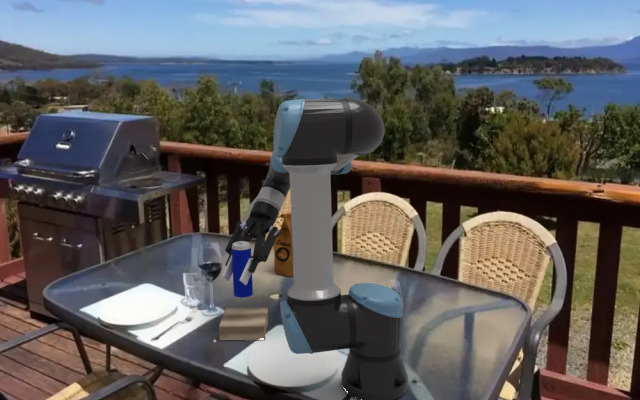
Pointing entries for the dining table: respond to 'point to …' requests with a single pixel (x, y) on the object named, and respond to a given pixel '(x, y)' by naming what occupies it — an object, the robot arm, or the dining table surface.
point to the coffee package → (284, 248)
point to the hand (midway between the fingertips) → (234, 280)
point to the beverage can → (241, 269)
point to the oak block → (243, 324)
